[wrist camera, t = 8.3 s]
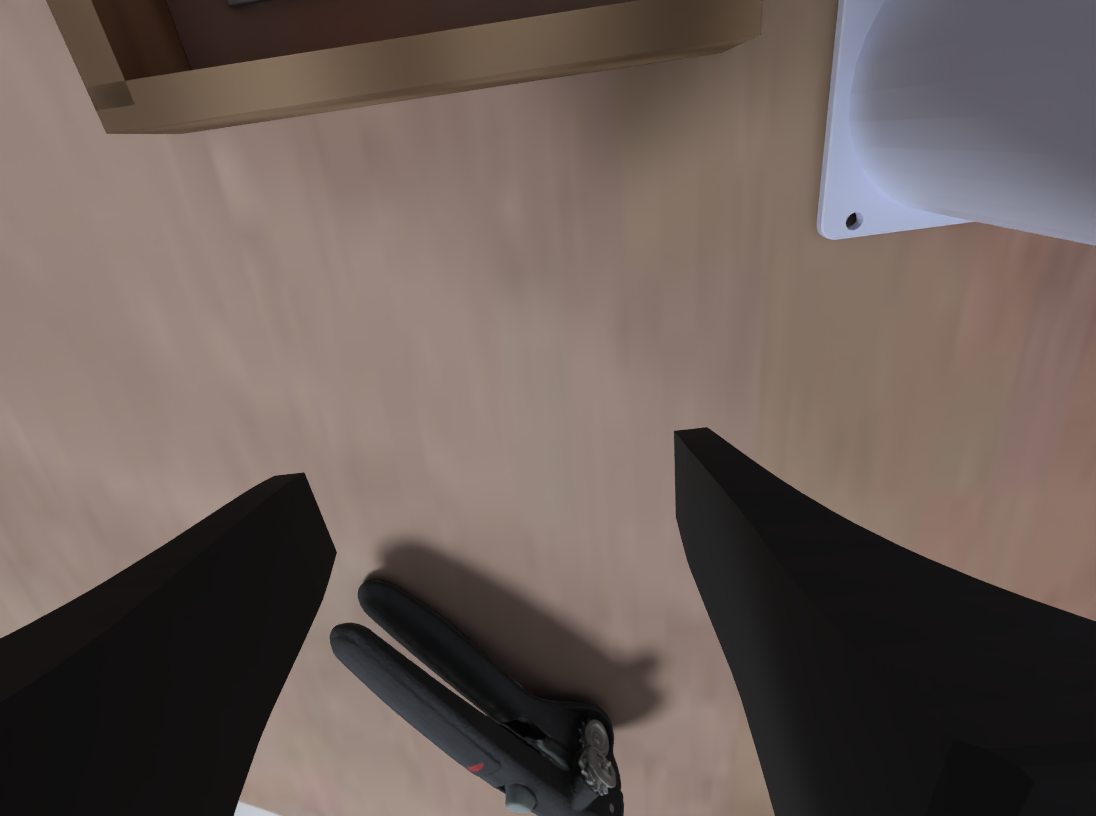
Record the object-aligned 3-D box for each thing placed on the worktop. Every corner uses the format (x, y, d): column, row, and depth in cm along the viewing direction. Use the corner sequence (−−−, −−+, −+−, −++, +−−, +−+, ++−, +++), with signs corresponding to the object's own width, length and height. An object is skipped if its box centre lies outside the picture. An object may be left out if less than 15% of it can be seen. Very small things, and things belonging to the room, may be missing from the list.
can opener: (647, 724, 29) (667, 844, 24) (550, 770, 32) (551, 890, 26) (415, 532, 23) (380, 642, 18) (313, 605, 25) (256, 722, 20)
